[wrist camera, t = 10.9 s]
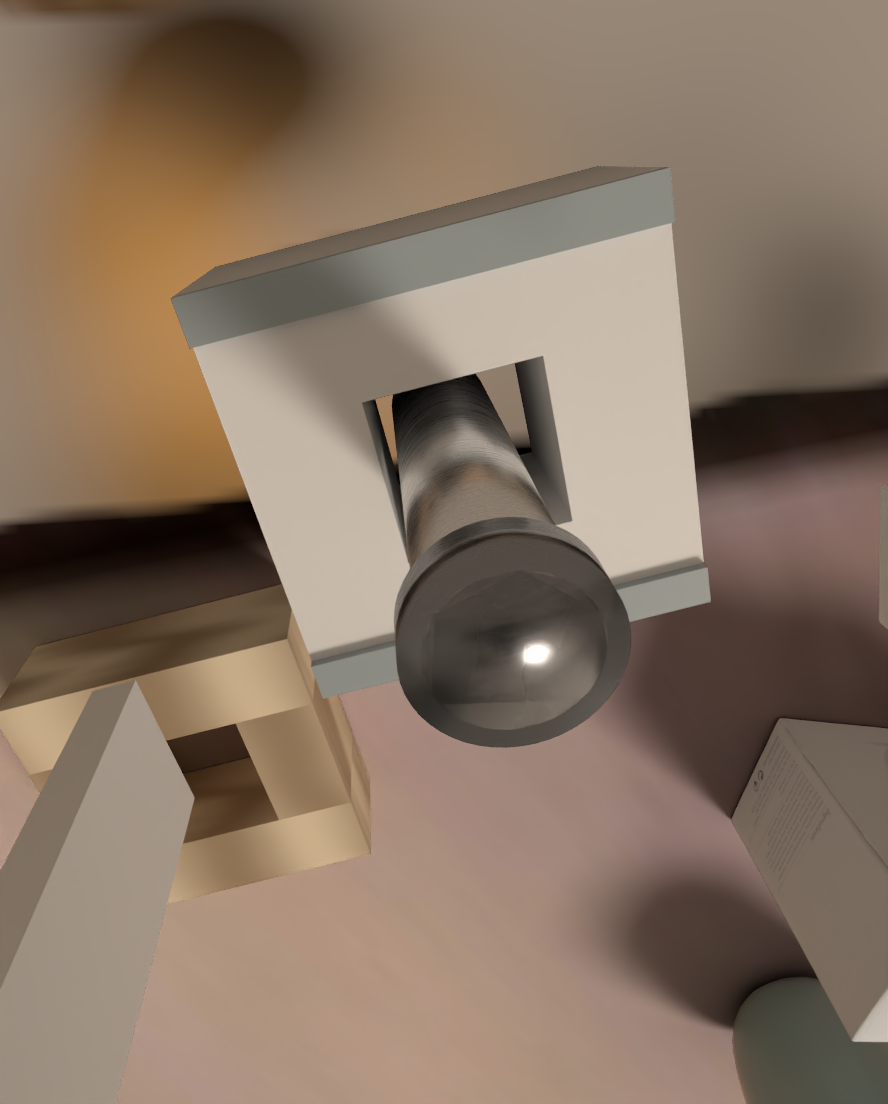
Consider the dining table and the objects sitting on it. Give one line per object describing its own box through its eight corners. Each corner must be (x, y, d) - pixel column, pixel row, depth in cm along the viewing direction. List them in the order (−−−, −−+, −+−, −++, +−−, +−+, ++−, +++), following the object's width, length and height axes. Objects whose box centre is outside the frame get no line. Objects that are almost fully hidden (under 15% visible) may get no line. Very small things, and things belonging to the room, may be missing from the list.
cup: (721, 961, 41) (820, 1183, 32) (864, 946, 42) (1001, 1160, 33) (703, 1053, 45) (788, 1277, 36) (836, 1038, 45) (953, 1255, 36)
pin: (397, 473, 28) (428, 769, 14) (366, 363, 26) (367, 583, 13) (508, 445, 28) (644, 716, 14) (484, 332, 26) (614, 520, 12)
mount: (143, 836, 34) (117, 916, 30) (35, 646, 29) (-10, 714, 26) (370, 780, 34) (370, 854, 30) (296, 580, 29) (287, 639, 26)
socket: (330, 596, 30) (323, 698, 24) (215, 266, 24) (170, 298, 19) (643, 517, 29) (711, 601, 24) (597, 166, 24) (670, 167, 18)
